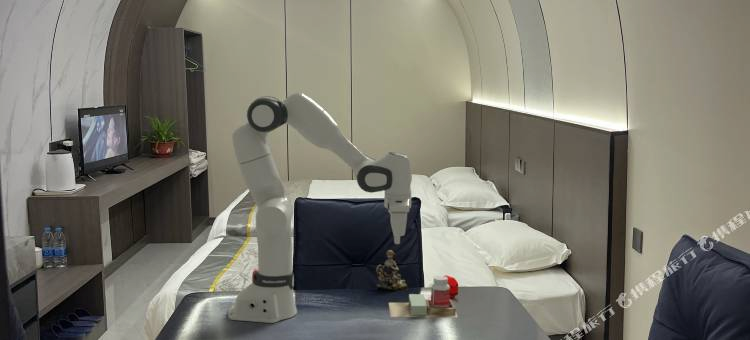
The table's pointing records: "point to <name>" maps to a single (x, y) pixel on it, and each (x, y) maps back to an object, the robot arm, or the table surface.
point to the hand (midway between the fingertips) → (396, 243)
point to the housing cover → (418, 304)
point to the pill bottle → (440, 292)
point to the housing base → (405, 310)
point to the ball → (452, 286)
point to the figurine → (390, 275)
